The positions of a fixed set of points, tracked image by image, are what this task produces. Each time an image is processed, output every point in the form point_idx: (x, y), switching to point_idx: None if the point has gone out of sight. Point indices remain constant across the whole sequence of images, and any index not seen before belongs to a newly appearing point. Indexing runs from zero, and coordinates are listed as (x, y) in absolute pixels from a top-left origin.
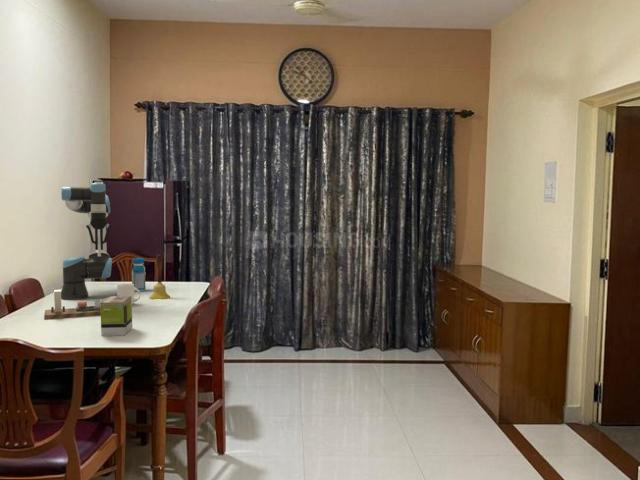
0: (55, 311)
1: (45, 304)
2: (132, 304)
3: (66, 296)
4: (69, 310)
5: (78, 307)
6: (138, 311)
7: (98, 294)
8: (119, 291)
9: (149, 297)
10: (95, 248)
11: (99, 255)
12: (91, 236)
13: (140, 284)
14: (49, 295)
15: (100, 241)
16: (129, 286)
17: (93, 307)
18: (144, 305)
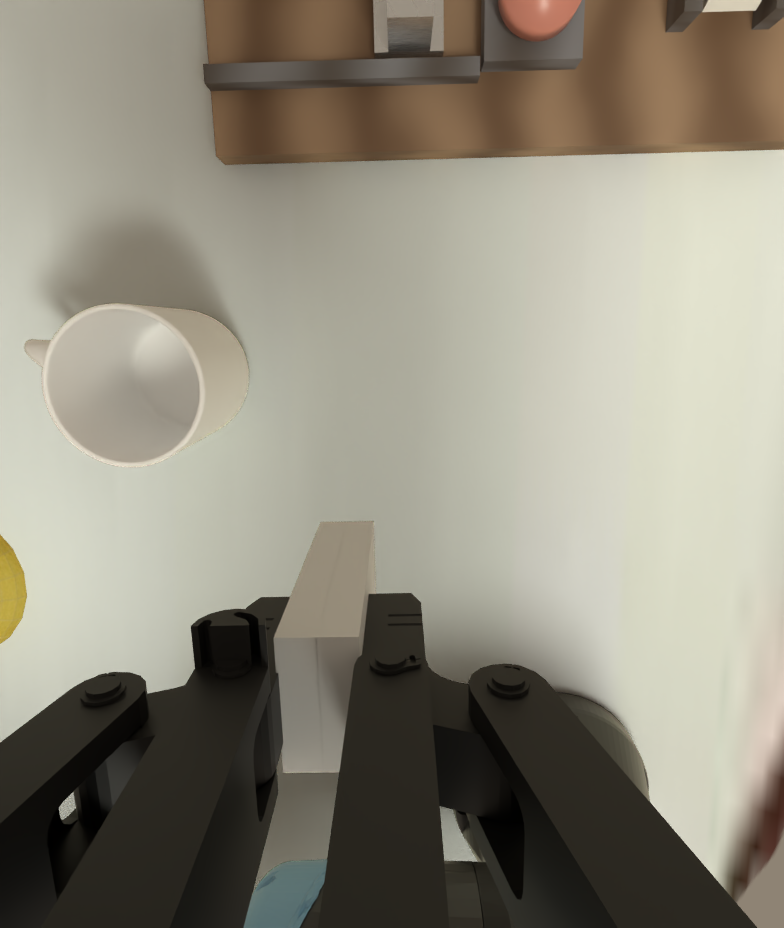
0: (737, 30)
1: (750, 561)
2: (140, 338)
3: (607, 718)
4: (628, 40)
5: None
6: (90, 5)
7: None
8: (202, 336)
9: (16, 582)
10: (420, 609)
11: (344, 527)
12: (623, 839)
13: None
14: None
15: (263, 796)
16: (86, 309)
17: (441, 13)
18: (49, 277)
